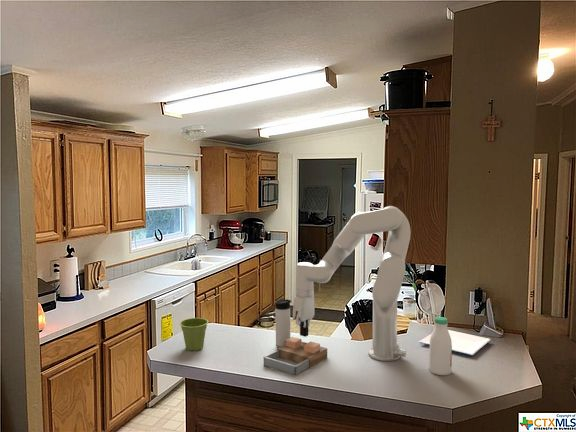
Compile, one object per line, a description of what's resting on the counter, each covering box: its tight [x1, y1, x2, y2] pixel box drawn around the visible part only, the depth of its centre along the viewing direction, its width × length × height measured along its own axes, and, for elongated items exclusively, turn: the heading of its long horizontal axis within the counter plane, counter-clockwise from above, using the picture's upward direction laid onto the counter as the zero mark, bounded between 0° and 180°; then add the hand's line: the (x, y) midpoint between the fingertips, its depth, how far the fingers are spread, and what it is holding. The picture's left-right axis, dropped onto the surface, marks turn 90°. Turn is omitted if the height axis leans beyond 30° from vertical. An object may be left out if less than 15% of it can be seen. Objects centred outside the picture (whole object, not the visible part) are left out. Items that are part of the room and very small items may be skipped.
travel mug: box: [274, 299, 292, 348], centre depth 189 cm, size 6×7×20 cm
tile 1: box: [286, 336, 302, 348], centre depth 179 cm, size 4×4×2 cm
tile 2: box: [304, 341, 321, 354], centre depth 174 cm, size 4×4×2 cm
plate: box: [418, 329, 491, 356], centre depth 190 cm, size 22×22×2 cm
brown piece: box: [276, 341, 328, 369], centre depth 176 cm, size 16×12×4 cm
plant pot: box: [179, 317, 209, 351], centre depth 188 cm, size 12×12×11 cm
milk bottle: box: [428, 316, 453, 376], centre depth 163 cm, size 8×8×20 cm
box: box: [263, 349, 310, 377], centre depth 168 cm, size 15×9×4 cm, turn 53°
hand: (304, 335), depth 186 cm, fingers closed
